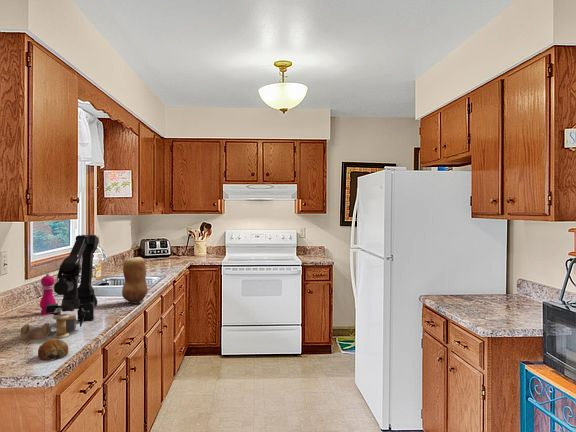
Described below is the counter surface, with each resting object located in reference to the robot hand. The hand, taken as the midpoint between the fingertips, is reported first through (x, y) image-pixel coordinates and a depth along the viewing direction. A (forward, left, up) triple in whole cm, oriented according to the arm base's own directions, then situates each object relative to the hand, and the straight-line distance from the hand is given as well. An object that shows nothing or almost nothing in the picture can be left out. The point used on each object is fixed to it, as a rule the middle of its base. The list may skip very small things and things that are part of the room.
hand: (70, 327), depth 219 cm
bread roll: (0, +39, -1) cm, 39 cm away
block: (0, 0, -1) cm, 1 cm away
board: (+12, +7, -1) cm, 14 cm away
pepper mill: (+16, -38, -1) cm, 41 cm away
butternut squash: (-25, -55, -1) cm, 60 cm away
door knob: (+2, +11, -1) cm, 11 cm away
